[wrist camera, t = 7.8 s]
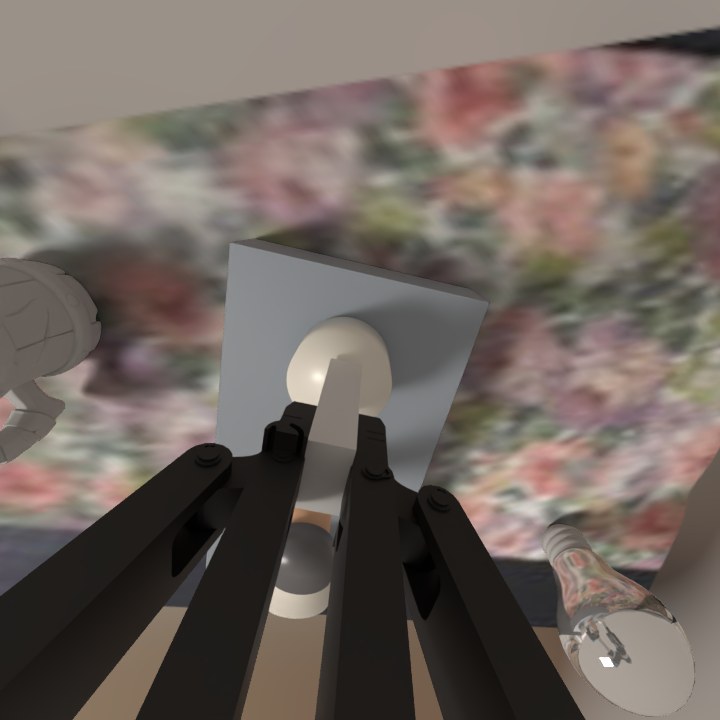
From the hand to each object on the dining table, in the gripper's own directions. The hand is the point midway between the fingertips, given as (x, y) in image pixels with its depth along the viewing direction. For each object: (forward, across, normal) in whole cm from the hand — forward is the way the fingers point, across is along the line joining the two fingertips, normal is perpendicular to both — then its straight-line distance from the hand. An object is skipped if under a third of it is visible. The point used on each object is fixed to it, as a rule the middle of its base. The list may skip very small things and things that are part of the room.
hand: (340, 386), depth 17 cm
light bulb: (+8, +21, -13) cm, 26 cm away
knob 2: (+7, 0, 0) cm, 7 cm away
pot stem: (+4, 0, -8) cm, 9 cm away
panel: (+8, 0, -8) cm, 11 cm away
